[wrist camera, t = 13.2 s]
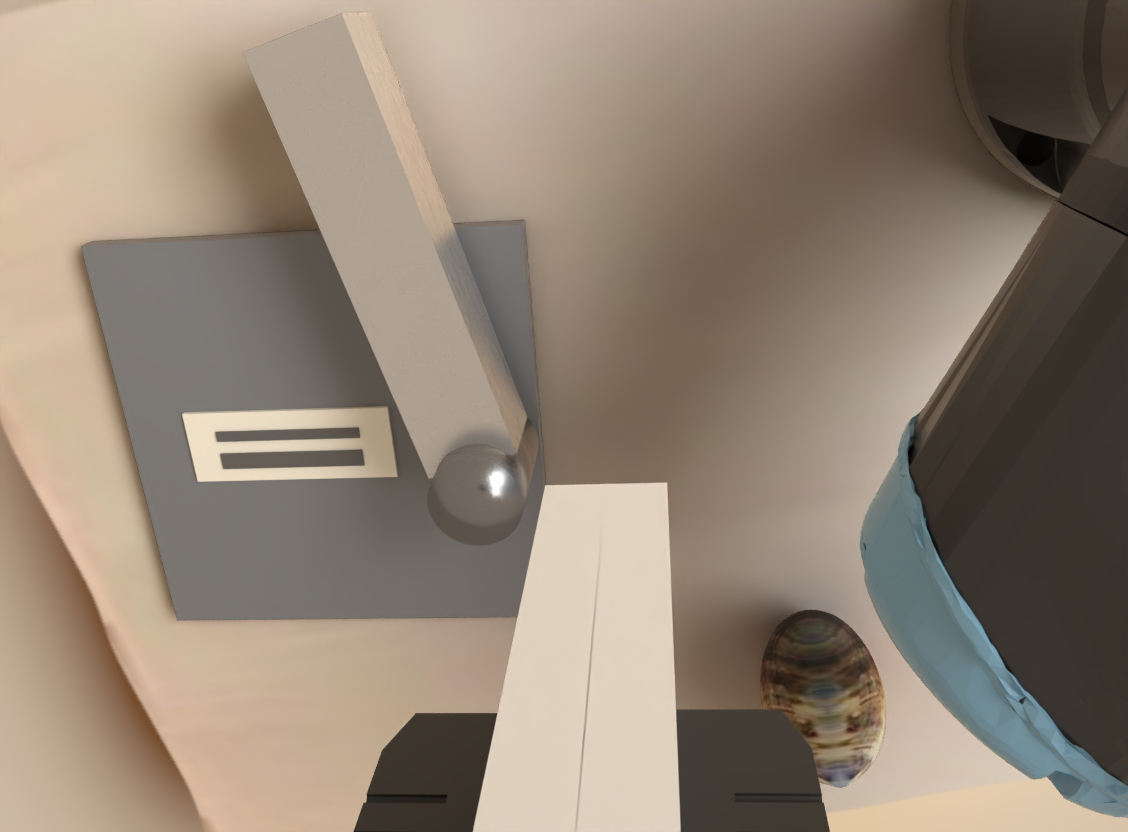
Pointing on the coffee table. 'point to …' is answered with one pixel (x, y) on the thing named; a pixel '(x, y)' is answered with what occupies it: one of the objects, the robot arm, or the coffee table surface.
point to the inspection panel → (296, 430)
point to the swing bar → (402, 268)
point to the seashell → (826, 692)
